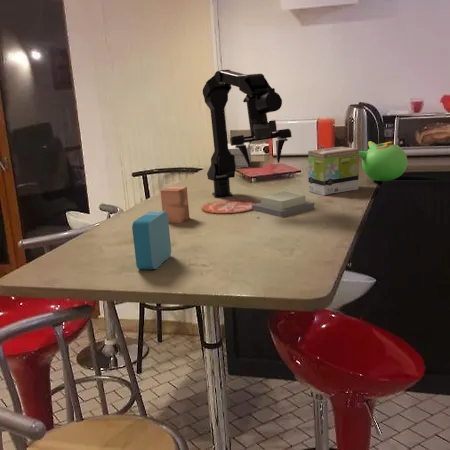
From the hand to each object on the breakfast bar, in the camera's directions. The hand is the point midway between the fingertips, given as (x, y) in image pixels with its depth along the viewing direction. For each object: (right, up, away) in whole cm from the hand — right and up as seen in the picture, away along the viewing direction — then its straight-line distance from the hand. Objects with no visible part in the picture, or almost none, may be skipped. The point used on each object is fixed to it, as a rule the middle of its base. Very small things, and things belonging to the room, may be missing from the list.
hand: (264, 164), depth 188 cm
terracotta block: (-27, -17, -1) cm, 33 cm away
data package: (-30, -29, -41) cm, 58 cm away
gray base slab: (+6, -15, +3) cm, 16 cm away
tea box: (+26, -7, +24) cm, 36 cm away
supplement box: (-7, +8, +90) cm, 90 cm away
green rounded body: (+47, -3, +34) cm, 58 cm away
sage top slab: (+6, -12, +2) cm, 14 cm away
